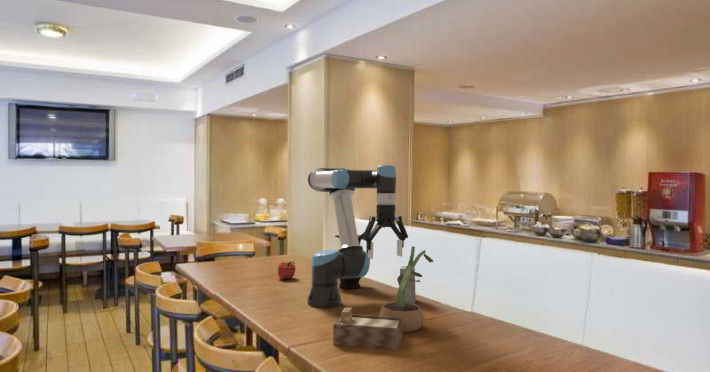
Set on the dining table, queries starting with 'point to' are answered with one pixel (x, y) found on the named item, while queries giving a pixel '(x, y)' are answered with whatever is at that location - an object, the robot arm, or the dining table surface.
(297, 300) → the dining table surface
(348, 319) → the lid
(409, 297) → the skincare box
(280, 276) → the vegetable
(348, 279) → the jug
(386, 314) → the potted plant
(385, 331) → the box
